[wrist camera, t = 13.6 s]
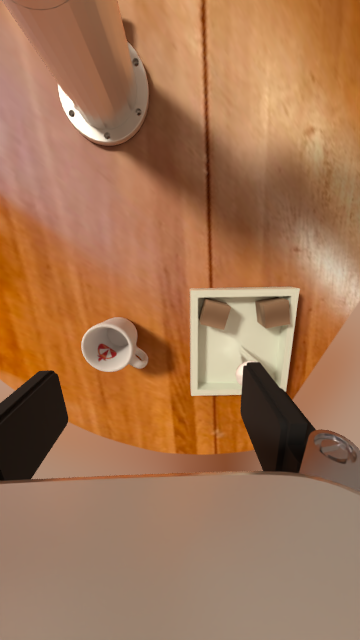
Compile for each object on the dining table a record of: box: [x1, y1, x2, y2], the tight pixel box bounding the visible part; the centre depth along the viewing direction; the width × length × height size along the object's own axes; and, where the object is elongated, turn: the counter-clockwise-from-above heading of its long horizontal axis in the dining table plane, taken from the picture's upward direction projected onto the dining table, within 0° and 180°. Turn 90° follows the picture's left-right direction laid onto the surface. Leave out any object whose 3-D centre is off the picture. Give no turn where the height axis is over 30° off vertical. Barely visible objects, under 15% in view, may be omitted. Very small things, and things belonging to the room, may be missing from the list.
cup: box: [81, 317, 148, 372], centre depth 36 cm, size 11×8×8 cm
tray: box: [190, 287, 299, 396], centre depth 38 cm, size 20×18×3 cm
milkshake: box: [228, 345, 258, 385], centre depth 35 cm, size 5×5×10 cm
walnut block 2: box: [255, 297, 290, 328], centre depth 35 cm, size 4×4×4 cm
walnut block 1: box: [199, 297, 231, 330], centre depth 35 cm, size 4×4×4 cm
